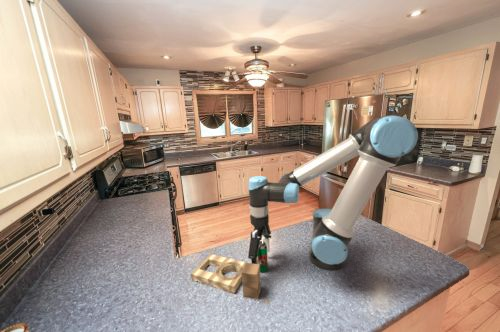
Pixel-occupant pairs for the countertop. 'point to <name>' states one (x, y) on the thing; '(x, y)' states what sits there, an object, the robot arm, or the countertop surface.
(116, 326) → the countertop surface
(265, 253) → the soda can
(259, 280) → the walnut square peg
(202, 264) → the socket board
